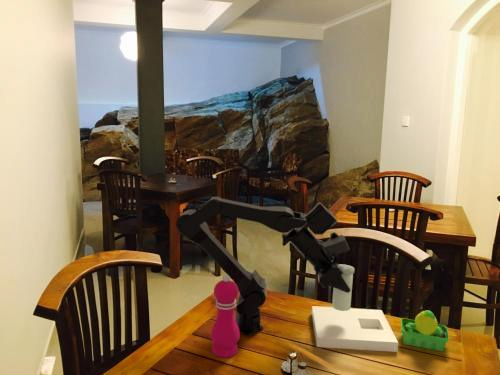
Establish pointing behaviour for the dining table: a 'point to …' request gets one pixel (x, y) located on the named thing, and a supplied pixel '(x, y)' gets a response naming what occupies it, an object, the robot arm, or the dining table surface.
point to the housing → (353, 329)
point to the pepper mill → (225, 319)
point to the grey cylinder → (340, 297)
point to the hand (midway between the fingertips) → (347, 287)
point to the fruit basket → (424, 331)
